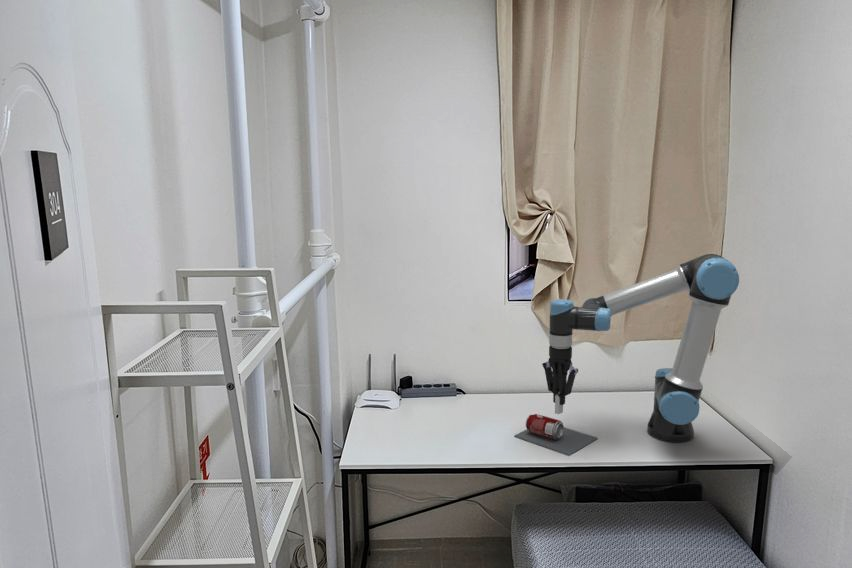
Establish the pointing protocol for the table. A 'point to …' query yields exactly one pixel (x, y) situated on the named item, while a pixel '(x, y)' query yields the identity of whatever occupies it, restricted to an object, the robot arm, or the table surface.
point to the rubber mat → (559, 441)
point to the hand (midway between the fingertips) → (558, 412)
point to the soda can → (545, 426)
